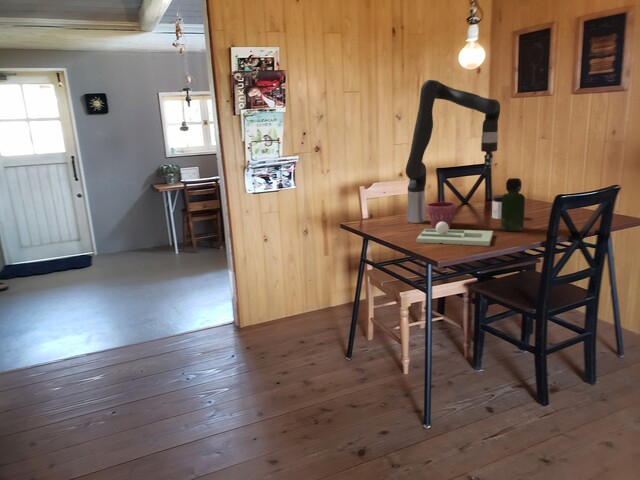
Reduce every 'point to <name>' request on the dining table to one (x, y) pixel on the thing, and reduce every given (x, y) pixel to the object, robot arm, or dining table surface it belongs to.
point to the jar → (496, 206)
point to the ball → (442, 227)
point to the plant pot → (440, 213)
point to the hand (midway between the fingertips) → (487, 174)
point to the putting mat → (456, 237)
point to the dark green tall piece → (513, 207)
